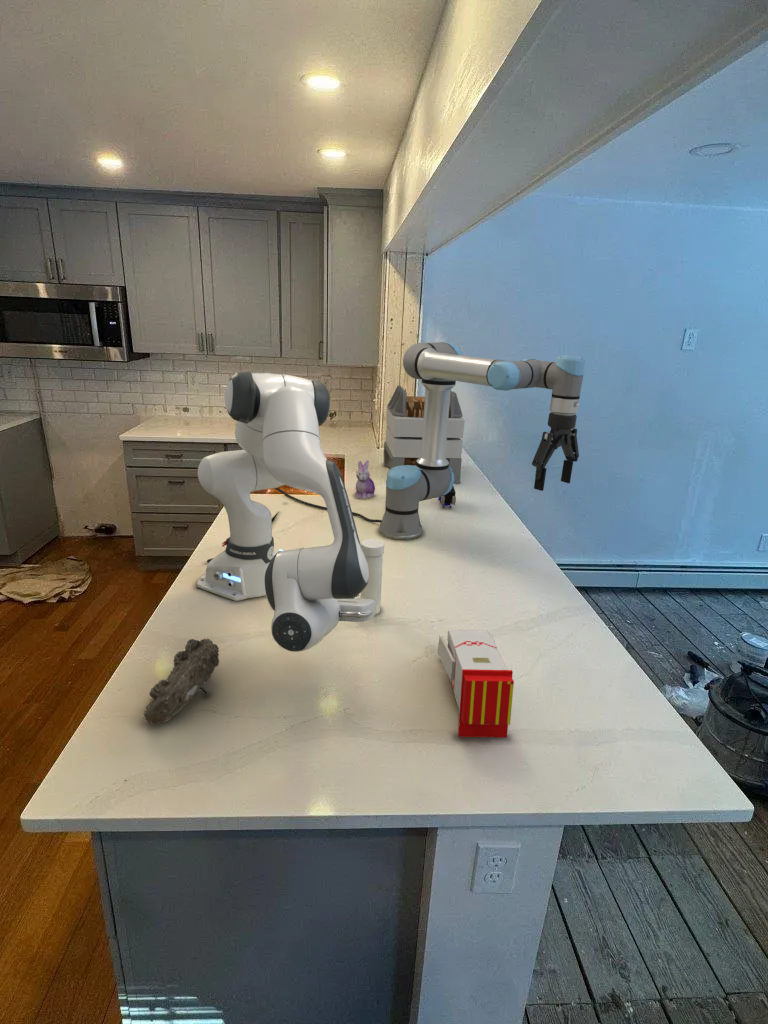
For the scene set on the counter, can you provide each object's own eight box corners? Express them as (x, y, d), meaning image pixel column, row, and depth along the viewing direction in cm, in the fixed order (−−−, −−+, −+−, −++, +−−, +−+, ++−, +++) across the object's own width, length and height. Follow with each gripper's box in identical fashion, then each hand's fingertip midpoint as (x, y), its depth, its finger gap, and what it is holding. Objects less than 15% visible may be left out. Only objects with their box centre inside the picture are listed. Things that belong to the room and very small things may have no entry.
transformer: (382, 463, 289) (386, 382, 275) (445, 464, 293) (451, 384, 279) (390, 482, 257) (394, 392, 243) (460, 483, 261) (468, 394, 247)
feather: (286, 506, 225) (288, 502, 225) (268, 529, 199) (271, 525, 198) (282, 503, 225) (284, 499, 225) (264, 526, 199) (267, 522, 198)
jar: (359, 604, 151) (361, 540, 145) (379, 604, 152) (382, 540, 145) (360, 615, 146) (362, 549, 140) (380, 615, 147) (384, 549, 140)
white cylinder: (360, 547, 146) (360, 538, 145) (382, 547, 146) (383, 538, 145) (361, 556, 140) (361, 547, 140) (384, 556, 141) (385, 547, 140)
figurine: (359, 500, 232) (360, 465, 227) (349, 493, 240) (350, 458, 235) (380, 498, 236) (381, 463, 231) (369, 490, 244) (370, 457, 239)
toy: (488, 613, 130) (523, 677, 101) (484, 667, 133) (517, 744, 104) (435, 612, 130) (455, 676, 101) (432, 666, 133) (451, 743, 103)
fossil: (172, 641, 124) (220, 609, 119) (203, 670, 127) (251, 640, 122) (121, 717, 104) (176, 683, 99) (159, 749, 107) (214, 718, 102)
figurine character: (456, 513, 226) (451, 497, 240) (458, 496, 223) (453, 481, 236) (439, 513, 226) (435, 497, 239) (441, 495, 223) (437, 480, 236)
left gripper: (369, 600, 110) (381, 588, 124) (268, 595, 113) (291, 584, 127) (368, 632, 110) (380, 617, 124) (268, 626, 113) (291, 612, 127)
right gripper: (548, 419, 148) (537, 496, 155) (598, 411, 163) (586, 482, 171) (525, 414, 153) (515, 489, 160) (575, 407, 169) (564, 476, 176)
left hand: (334, 600), depth 125 cm, fingers open, 8 cm apart
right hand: (552, 485), depth 166 cm, fingers open, 13 cm apart
